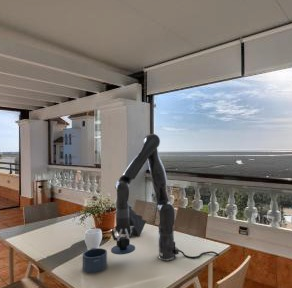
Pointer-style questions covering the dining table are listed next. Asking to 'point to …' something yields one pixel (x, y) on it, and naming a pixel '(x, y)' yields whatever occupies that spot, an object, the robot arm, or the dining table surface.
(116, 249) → the lid
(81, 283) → the dining table surface
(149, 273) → the dining table surface
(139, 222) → the decorative tree
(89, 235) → the white vase
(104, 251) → the pot
